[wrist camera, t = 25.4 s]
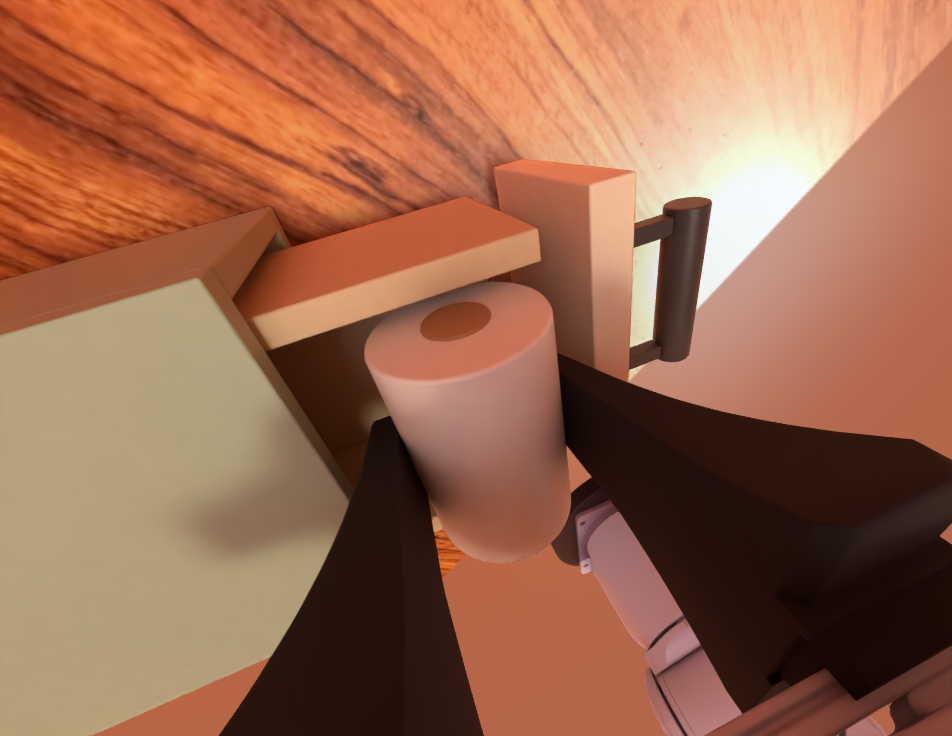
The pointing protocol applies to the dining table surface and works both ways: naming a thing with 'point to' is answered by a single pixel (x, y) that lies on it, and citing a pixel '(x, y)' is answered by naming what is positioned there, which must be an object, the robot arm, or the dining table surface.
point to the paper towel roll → (480, 413)
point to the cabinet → (148, 481)
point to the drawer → (470, 261)
